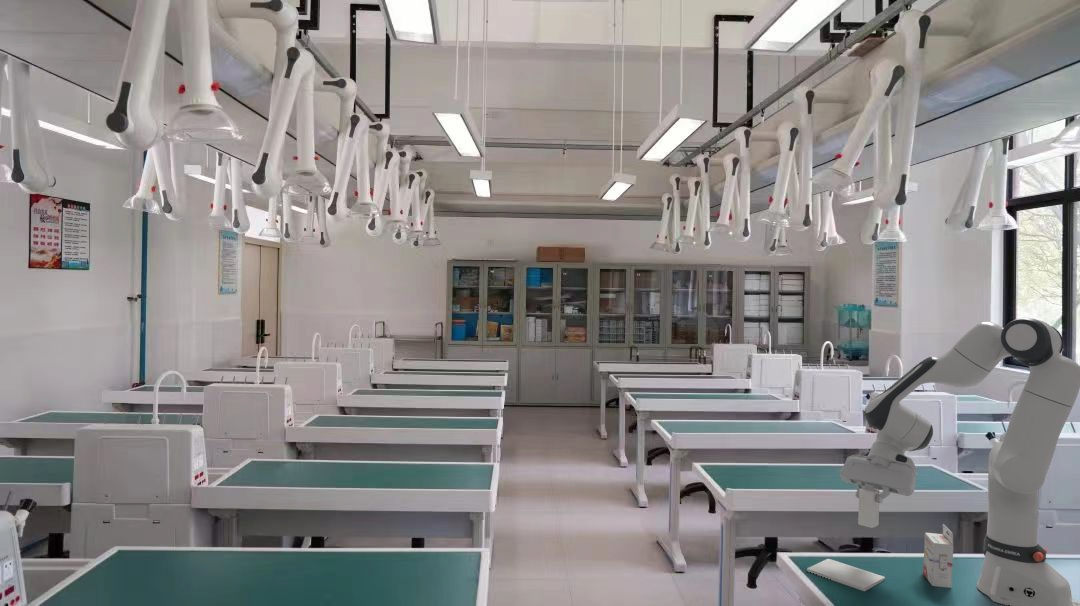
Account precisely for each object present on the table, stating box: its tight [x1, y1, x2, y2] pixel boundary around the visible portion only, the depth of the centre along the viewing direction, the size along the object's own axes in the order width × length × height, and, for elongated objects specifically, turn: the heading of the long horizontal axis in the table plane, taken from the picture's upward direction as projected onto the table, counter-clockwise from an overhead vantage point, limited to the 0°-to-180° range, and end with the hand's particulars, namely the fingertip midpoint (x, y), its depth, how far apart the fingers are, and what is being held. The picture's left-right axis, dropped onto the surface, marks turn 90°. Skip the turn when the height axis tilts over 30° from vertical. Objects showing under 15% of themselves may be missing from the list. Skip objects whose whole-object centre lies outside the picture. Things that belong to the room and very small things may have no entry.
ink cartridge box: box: [922, 523, 954, 589], centre depth 196 cm, size 9×5×15 cm, turn 169°
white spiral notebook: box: [806, 558, 886, 592], centre depth 198 cm, size 16×12×1 cm
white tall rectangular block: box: [857, 484, 881, 529], centre depth 207 cm, size 4×4×11 cm
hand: (868, 499), depth 207 cm, fingers closed on white tall rectangular block, 4 cm apart
